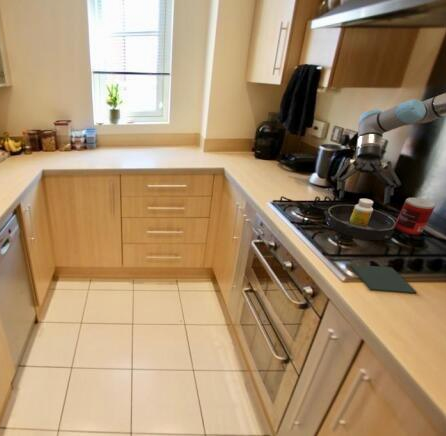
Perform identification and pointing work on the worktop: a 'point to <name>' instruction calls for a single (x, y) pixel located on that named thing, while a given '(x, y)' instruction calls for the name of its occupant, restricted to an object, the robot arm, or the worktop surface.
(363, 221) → the supplement bottle
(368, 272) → the mat
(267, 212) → the worktop surface
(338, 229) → the pan
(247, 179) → the worktop surface
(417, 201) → the red supplement tub
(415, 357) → the worktop surface
